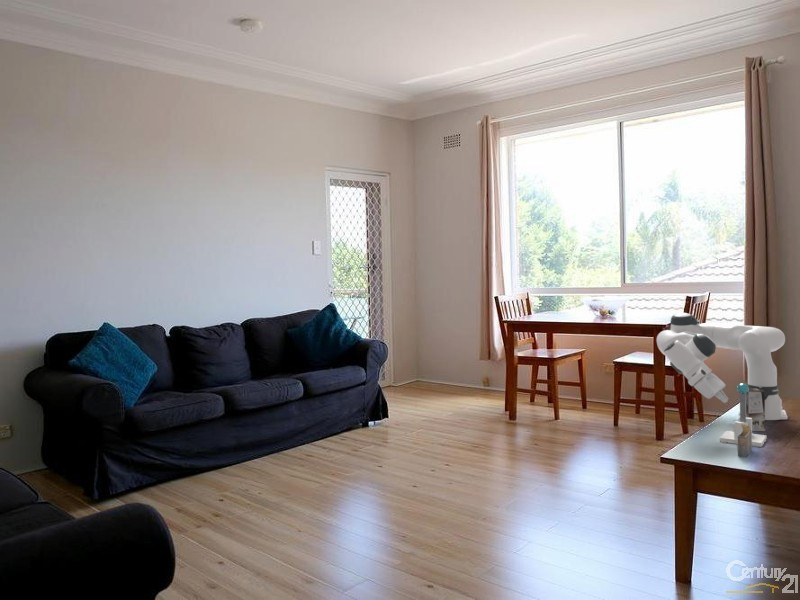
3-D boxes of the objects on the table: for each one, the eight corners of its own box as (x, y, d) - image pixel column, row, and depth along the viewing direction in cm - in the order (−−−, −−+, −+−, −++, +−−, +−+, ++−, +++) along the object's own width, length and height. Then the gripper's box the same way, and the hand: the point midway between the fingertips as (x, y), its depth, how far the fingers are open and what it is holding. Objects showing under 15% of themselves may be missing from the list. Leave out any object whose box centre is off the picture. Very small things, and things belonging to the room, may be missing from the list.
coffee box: (765, 431, 258) (765, 391, 257) (748, 431, 259) (747, 391, 258) (757, 425, 267) (757, 387, 266) (741, 425, 268) (740, 387, 267)
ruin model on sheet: (742, 449, 237) (742, 423, 236) (751, 450, 235) (751, 424, 234) (736, 457, 228) (736, 430, 227) (746, 458, 226) (745, 431, 225)
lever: (738, 428, 250) (738, 381, 249) (750, 430, 247) (750, 382, 246) (736, 432, 245) (735, 384, 244) (747, 433, 243) (747, 385, 242)
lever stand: (726, 434, 255) (726, 414, 255) (766, 439, 247) (766, 418, 246) (719, 441, 246) (719, 421, 245) (761, 446, 237) (761, 425, 237)
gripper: (700, 375, 264) (726, 401, 259) (687, 384, 248) (715, 411, 242) (711, 365, 261) (738, 391, 256) (699, 373, 245) (728, 401, 240)
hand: (727, 401), depth 249 cm, fingers closed
